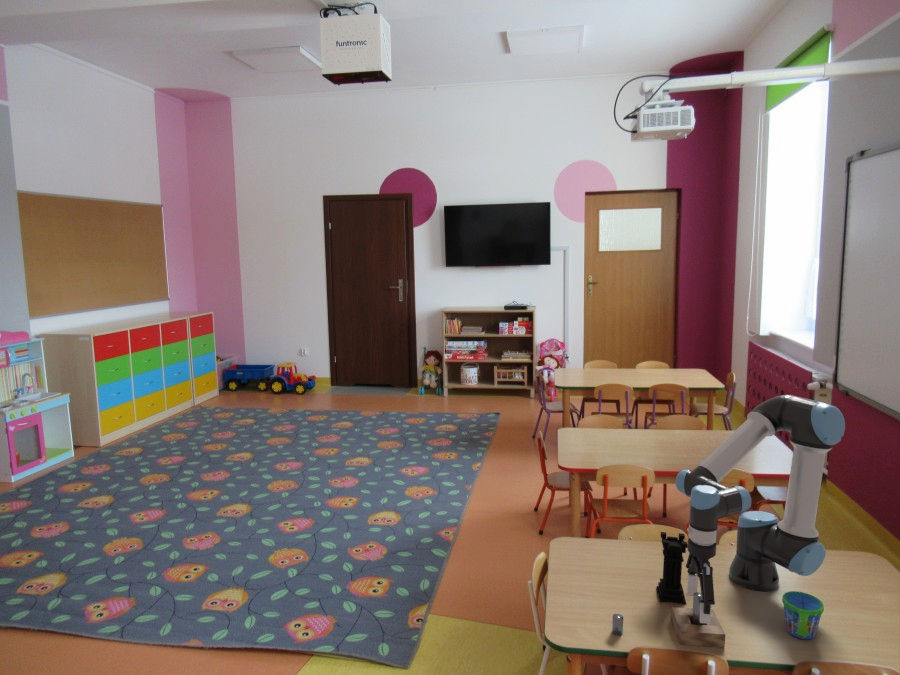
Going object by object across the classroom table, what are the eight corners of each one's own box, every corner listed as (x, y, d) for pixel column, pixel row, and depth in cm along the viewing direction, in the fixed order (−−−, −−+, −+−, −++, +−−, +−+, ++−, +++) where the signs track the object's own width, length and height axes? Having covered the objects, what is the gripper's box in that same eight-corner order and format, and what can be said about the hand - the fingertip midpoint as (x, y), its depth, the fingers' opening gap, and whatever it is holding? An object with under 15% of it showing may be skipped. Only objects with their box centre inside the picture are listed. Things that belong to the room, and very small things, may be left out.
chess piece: (685, 604, 199) (689, 545, 196) (659, 601, 201) (662, 542, 198) (681, 590, 207) (685, 533, 204) (656, 588, 209) (659, 531, 205)
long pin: (700, 630, 186) (703, 592, 184) (703, 636, 183) (705, 598, 181) (690, 629, 187) (692, 591, 185) (692, 635, 184) (694, 597, 182)
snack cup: (782, 613, 194) (785, 583, 192) (822, 624, 188) (825, 593, 187) (776, 640, 181) (779, 608, 179) (819, 653, 175) (822, 620, 174)
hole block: (711, 621, 190) (712, 609, 190) (724, 647, 178) (725, 634, 178) (670, 619, 191) (671, 607, 191) (680, 644, 180) (681, 631, 179)
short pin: (621, 629, 187) (622, 614, 186) (623, 635, 184) (624, 620, 183) (611, 629, 187) (612, 613, 186) (612, 635, 184) (613, 619, 183)
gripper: (677, 520, 193) (674, 584, 196) (700, 561, 169) (696, 634, 172) (703, 521, 192) (699, 585, 196) (730, 562, 168) (725, 635, 171)
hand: (698, 608), depth 184 cm, fingers open, 13 cm apart
